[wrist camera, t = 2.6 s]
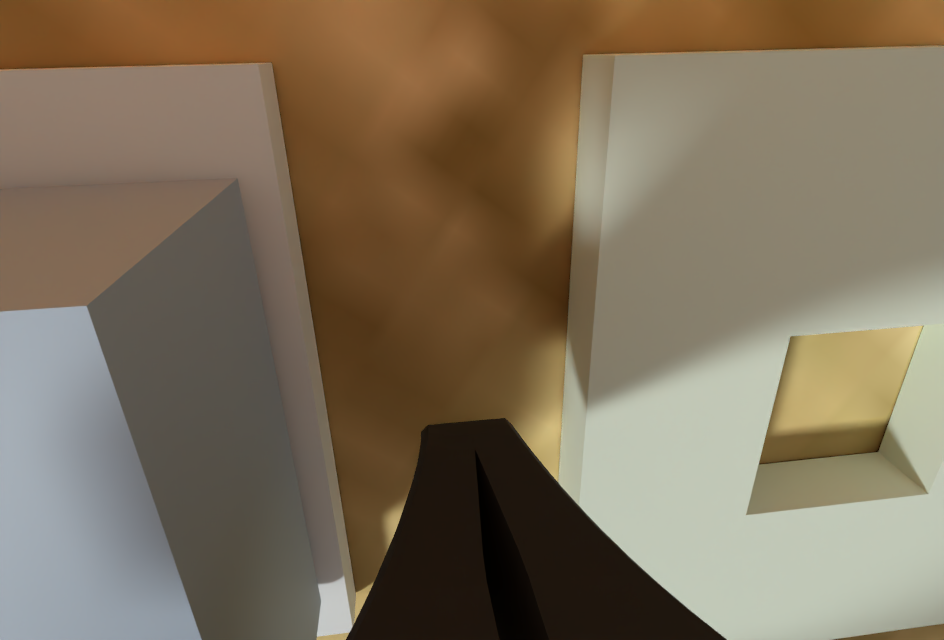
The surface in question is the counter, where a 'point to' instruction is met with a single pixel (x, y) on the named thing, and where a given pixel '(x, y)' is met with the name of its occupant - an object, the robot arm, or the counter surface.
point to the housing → (143, 423)
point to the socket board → (757, 328)
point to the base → (200, 158)
